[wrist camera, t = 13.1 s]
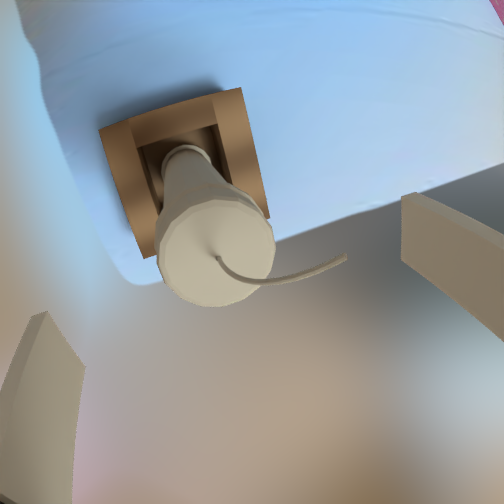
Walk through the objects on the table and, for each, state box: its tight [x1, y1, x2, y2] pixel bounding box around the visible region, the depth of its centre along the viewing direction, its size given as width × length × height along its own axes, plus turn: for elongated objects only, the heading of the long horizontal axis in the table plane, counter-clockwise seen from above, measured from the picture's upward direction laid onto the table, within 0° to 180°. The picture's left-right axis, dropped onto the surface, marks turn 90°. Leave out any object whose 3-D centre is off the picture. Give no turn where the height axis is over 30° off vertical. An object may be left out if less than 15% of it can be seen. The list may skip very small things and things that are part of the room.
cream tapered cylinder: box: [154, 144, 348, 307], centre depth 21 cm, size 6×6×30 cm
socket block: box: [99, 87, 270, 259], centre depth 32 cm, size 14×14×7 cm
